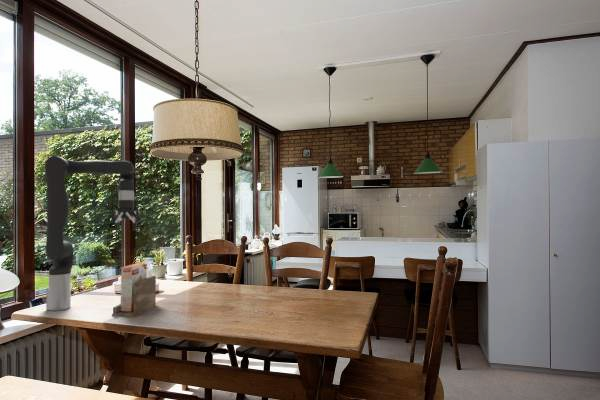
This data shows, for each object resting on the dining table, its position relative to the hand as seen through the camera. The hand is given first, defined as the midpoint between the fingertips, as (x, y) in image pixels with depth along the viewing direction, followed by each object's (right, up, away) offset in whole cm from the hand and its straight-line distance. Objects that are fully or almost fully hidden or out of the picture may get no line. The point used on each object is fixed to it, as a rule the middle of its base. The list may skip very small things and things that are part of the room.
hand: (126, 230), depth 194 cm
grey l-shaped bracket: (+11, -38, -14) cm, 42 cm away
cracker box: (+10, -37, -14) cm, 41 cm away
